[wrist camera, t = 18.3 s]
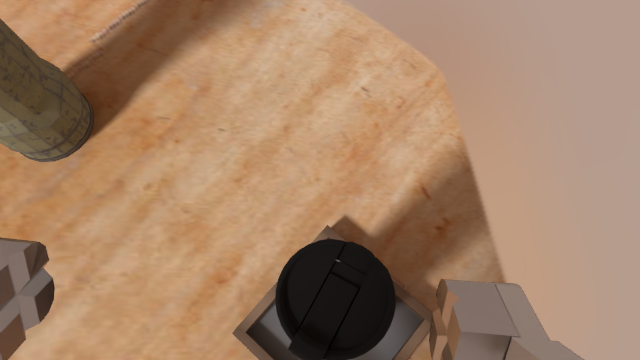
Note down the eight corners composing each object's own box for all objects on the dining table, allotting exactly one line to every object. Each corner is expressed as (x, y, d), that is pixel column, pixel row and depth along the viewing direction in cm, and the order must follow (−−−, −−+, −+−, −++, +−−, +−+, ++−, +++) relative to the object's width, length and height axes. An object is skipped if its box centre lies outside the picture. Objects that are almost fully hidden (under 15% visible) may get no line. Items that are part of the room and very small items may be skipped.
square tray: (343, 436, 40) (344, 441, 38) (236, 333, 43) (232, 333, 41) (435, 316, 43) (440, 315, 41) (329, 228, 46) (329, 222, 44)
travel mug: (284, 335, 42) (245, 327, 23) (320, 269, 44) (311, 212, 25) (346, 372, 41) (359, 395, 22) (381, 303, 43) (420, 269, 24)
